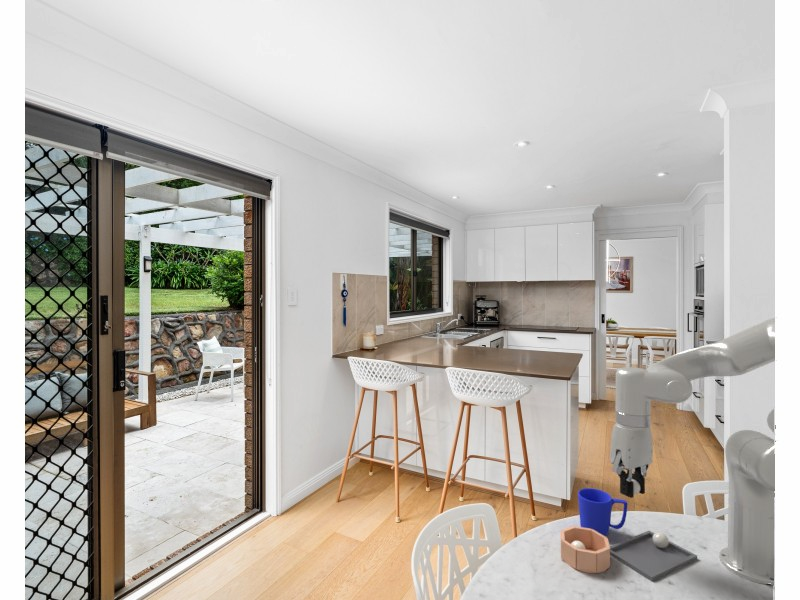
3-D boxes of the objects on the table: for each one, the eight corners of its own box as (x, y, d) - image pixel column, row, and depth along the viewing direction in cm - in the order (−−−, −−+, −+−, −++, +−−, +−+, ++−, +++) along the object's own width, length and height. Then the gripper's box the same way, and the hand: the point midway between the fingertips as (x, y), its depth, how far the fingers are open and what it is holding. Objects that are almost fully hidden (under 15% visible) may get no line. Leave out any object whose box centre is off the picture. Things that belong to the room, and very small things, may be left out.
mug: (631, 544, 110) (632, 505, 110) (581, 539, 113) (581, 501, 112) (622, 526, 118) (622, 490, 118) (575, 522, 121) (575, 486, 120)
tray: (648, 534, 114) (648, 530, 114) (697, 560, 104) (697, 555, 104) (604, 553, 107) (604, 548, 107) (651, 582, 96) (651, 577, 96)
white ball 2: (630, 489, 109) (630, 475, 108) (643, 495, 105) (643, 480, 105) (621, 492, 107) (621, 478, 107) (634, 498, 104) (634, 484, 104)
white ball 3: (658, 541, 111) (658, 528, 111) (671, 548, 108) (671, 535, 108) (649, 545, 109) (649, 531, 109) (663, 552, 106) (663, 538, 106)
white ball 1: (577, 549, 107) (577, 535, 107) (589, 557, 104) (589, 543, 104) (567, 554, 106) (566, 540, 105) (578, 562, 102) (578, 547, 102)
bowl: (581, 542, 111) (582, 522, 111) (618, 565, 102) (619, 544, 102) (551, 553, 107) (551, 533, 107) (587, 579, 97) (587, 557, 97)
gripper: (640, 410, 113) (639, 480, 113) (595, 419, 105) (595, 494, 106) (669, 418, 106) (668, 492, 107) (624, 428, 99) (623, 508, 99)
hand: (632, 492), depth 106 cm, fingers closed on white ball 2, 3 cm apart
